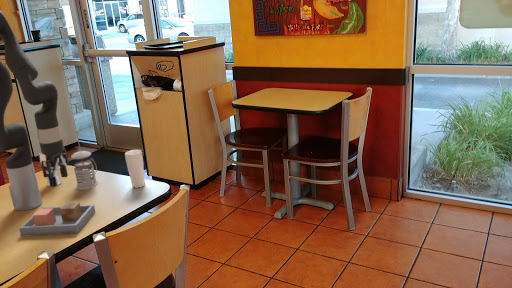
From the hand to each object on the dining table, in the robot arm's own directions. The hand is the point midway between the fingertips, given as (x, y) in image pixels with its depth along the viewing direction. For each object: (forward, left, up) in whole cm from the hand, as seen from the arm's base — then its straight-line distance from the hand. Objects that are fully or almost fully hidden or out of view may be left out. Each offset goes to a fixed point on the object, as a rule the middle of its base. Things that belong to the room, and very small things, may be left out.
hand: (59, 181), depth 166 cm
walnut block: (+4, -5, -13) cm, 14 cm away
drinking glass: (+20, +24, -14) cm, 34 cm away
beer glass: (-20, +32, -14) cm, 40 cm away
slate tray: (0, -7, -13) cm, 15 cm away
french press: (-3, +28, -14) cm, 31 cm away
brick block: (-3, -9, -13) cm, 16 cm away
